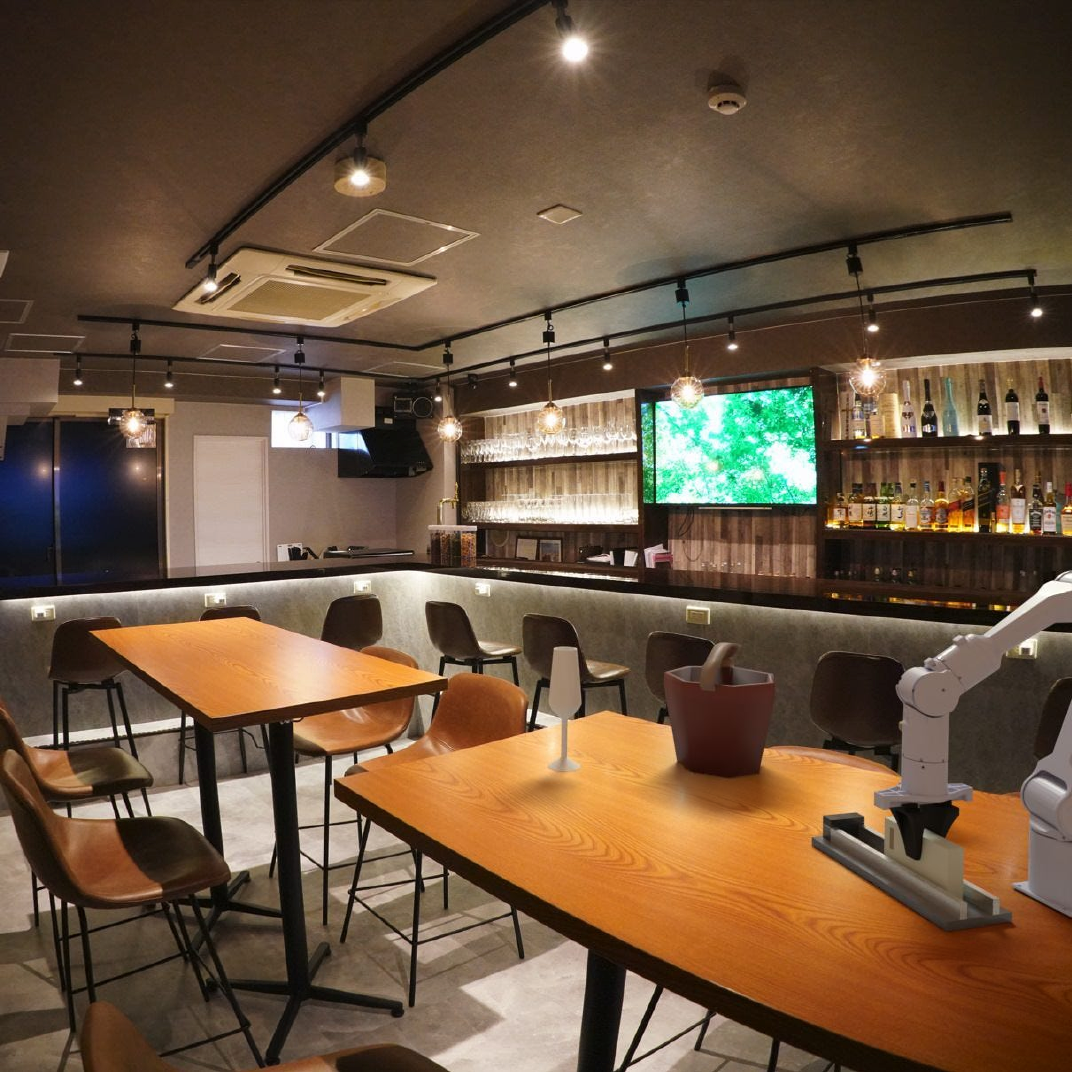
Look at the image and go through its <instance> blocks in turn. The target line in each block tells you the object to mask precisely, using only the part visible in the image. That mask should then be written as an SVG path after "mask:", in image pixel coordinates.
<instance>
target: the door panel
mask: <svg viewBox="0 0 1072 1072" xmlns="http://www.w3.org/2000/svg"><path fill="white" fill-rule="evenodd" d="M884 835H885V840H884V855H885V856H887V857H889V858H890V859H892V860H894V861H896V862H897V863H899V864H901V865H902V866H904V867H906V868H908V869H909V870H911V871H913V872H914V873H916V874H918V875H920V876H921V877H923V878H925V879H926V880H928V881H930V882H932V883H933V884H935V885H937V886H939V887H940V888H942V889H944V890H945V891H947V892H949V893H951V894H952V895H954V896H956V897H957V898H959V899H961V900H963V879H964V866H965V864H964V863H965V847H963V846H961V845H959V844H957V843H954V842H953V841H952V840H950V839H947V838H943V837H941V836H939V835H937V834H935V833H933V832H931V831H929V830H927V829H924V834H923V842H922V854H921V858H920V860H917V861H916V860H914V859H912V858H910V857H908V856H906V853H905V849H904V844H903V840H902V836H901V833H900V830H899V827H898V825H897V822H896V820H895V818H894V816H893V815H892V816H885V817H884Z"/></svg>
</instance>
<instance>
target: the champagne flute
mask: <svg viewBox="0 0 1072 1072" xmlns="http://www.w3.org/2000/svg"><path fill="white" fill-rule="evenodd" d="M579 666H580V665H579V653H578V648H577V647H574V646H573V647H572V646H556V647H554V648H553V654H552V663H551V672H550V681H549V693H548V701H547V702H548V705H549V706H548V707H550V709H551V711H552V712H553V713H554V714H555V715H556V716H557V717H558V718H560V719H561V749H560V750H561V751H560V752H561V753H560V755H561V757H559V758H557V759H555V760H553V761H551V762H550V763H548V765H547V768H549V769H551V770H553V771H557V772H573V771H577V770H579V769H580V768H581V765H580V764H579V763H577V762H576V761H574V760H572V759H571V758H569V757H568V719H570V718H572V717H573V716H574V715H575V714H576V713H577V712H578V711H579V709H580V707H581V706H582V693H581V682H580V681H581V679H580V667H579Z"/></svg>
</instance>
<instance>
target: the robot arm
mask: <svg viewBox="0 0 1072 1072" xmlns="http://www.w3.org/2000/svg"><path fill="white" fill-rule="evenodd" d="M1058 623H1059V624H1061V623H1072V570H1068V571H1064V572H1062V573H1061V574H1059V575H1058V576H1057V577H1056V578H1055V579H1054V580H1051V581H1048V582H1045V583H1044V584H1042V586H1041V587H1040V588H1039V590H1038V591H1037V592H1036V593H1035V594H1034V595H1032V596H1031V597H1030V598H1029V599H1027V600H1026V601H1025V602H1024V603H1022V604H1021V605H1020V606H1018V607H1017V608H1016V609H1015V610H1014V611H1012V612H1011V613H1010V614H1008V615H1007V616H1006V617H1004V618H1003V619H1002V620H1001V621H999V622H998V623H997V624H996V625H994V626H993V627H992V628H990V629H989V630H988V631H987V632H985V633H984V634H981V635H980V634H976V633H968V634H966V635H965V636H963V635H960V634H958V635H957V636H955V637H953V638H952V643H953V644H952V645H950V646H949V647H948V648H946V649H945V650H944V651H942V652H941V653H939V654H937V655H936V656H934V657H933V658H931V657H927V659H925V660H924V661H923V663H924V666H923V667H922V666H919V667H918V666H915V667H912V668H909V669H907V670H906V671H905V672H904V673H903V674H902V675H901V679H899V681H898V684H896V685H895V691H896V696H898V698H899V700H900V701H901V702H902V705H903V706H902V707H903V709H902V710H903V711H902V721H903V723H902V731H901V735H902V736H901V776H900V777H901V778H900V779H901V780H899V781H898V785H894V786H891V787H888V788H885V789H882V790H881V789H880V790H876V791H875V790H874V791H873V792H874V793H873V806H875V807H877V808H878V809H880V810H882V811H889V810H890V812H891V814H892V816H894V818H895V820H896V822H897V825H898V827H899V830H900V833H901V836H902V840H903V844H904V849H905V853H906V856H908V857H910V858H912V859H914V860H916V861H917V860H920V858H921V854H922V842H923V834H924V829H927V830H929V831H931V832H933V833H935V834H937V835H939V836H941V837H943V838H945V839H947V835H948V833H949V831H950V829H951V827H952V825H953V824H954V823H955V821H956V820H957V818H959V816H960V807H958V806H956V805H953V802H959V801H960V802H961V801H963V802H964V803H965V802H966V803H970V802H973V798H974V797H973V796H974V793H973V792H974V791H973V790H974V787H973V786H970V785H967V784H964V783H962V782H961V783H948V776H949V775H948V774H949V771H948V770H949V736H950V725H949V723H950V713H951V712H954V710H955V709H956V708H957V705H958V703H959V699H960V696H962V695H963V694H964V693H966V692H967V691H969V690H970V689H972V687H975V686H976V685H978V684H979V683H980V682H981V681H983V680H985V679H986V678H988V677H989V676H990V675H992V674H993V673H995V672H996V671H998V670H1000V668H1001V666H1002V659H1003V655H1005V654H1006V653H1007V652H1009V651H1011V650H1012V649H1014V648H1016V647H1018V646H1019V645H1020V644H1022V643H1024V642H1026V641H1027V640H1029V639H1030V638H1032V637H1034V636H1036V635H1038V633H1040V632H1042V631H1043V630H1045V629H1047V628H1049V627H1050V626H1052V625H1054V624H1058ZM1065 714H1066V715H1065V717H1064V720H1063V723H1062V725H1061V726H1062V727H1061V729H1060V732H1059V735H1058V736H1057V740H1056V742H1055V745H1054V748H1053V751H1052V753H1050V754H1049V755H1047V756H1045V757H1043V758H1042V759H1040V760H1038V761H1037V764H1036V766H1035V769H1034V770H1033V772H1032V773H1031V775H1030V776H1028V777H1027V778H1026V779H1025V780H1024V781H1023V783H1022V785H1021V788H1020V793H1019V794H1020V795H1019V796H1020V797H1019V798H1020V802H1021V803H1022V805H1023V807H1024V808H1025V809H1026V811H1028V812H1029V813H1028V814H1029V817H1028V821H1029V827H1028V828H1029V830H1028V864H1027V872H1028V873H1027V880H1025V881H1018V882H1012V884H1011V886H1012V888H1014V889H1016V890H1018V891H1019V892H1022V893H1024V894H1025V895H1027V896H1029V897H1030V898H1033V899H1035V900H1036V901H1039V902H1041V903H1043V904H1044V905H1047V906H1048V907H1050V908H1052V909H1054V910H1056V911H1058V912H1060V913H1062V914H1063V915H1066V916H1067V917H1070V918H1072V699H1071V701H1070V704H1069V706H1068V710H1067V713H1065ZM918 805H919V806H920V808H918Z"/></svg>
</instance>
